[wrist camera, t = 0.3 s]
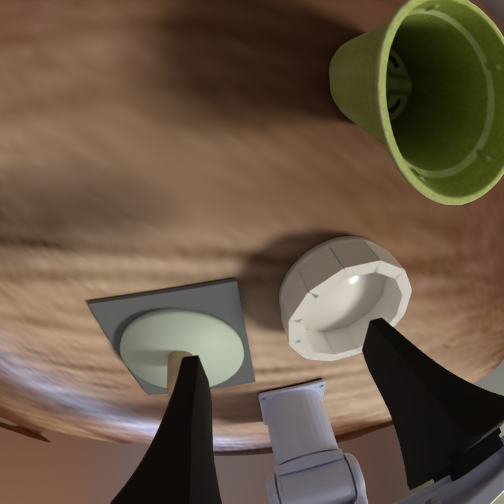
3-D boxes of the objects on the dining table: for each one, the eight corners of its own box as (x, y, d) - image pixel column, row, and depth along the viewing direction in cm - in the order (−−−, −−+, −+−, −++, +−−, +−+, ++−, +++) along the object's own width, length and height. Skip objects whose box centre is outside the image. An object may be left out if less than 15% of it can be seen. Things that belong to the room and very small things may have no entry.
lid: (249, 375, 28) (255, 411, 24) (146, 387, 27) (144, 422, 24) (233, 297, 22) (240, 340, 18) (101, 316, 21) (89, 357, 18)
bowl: (378, 315, 27) (394, 342, 24) (280, 339, 26) (289, 371, 23) (397, 226, 21) (422, 251, 18) (274, 247, 21) (287, 279, 18)
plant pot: (373, 177, 19) (455, 241, 12) (267, 88, 15) (326, 96, 8) (442, 87, 15) (536, 115, 8) (355, -11, 11) (450, -43, 4)
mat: (254, 378, 29) (255, 381, 29) (147, 391, 28) (147, 394, 28) (236, 277, 21) (237, 281, 21) (89, 300, 21) (88, 304, 20)
